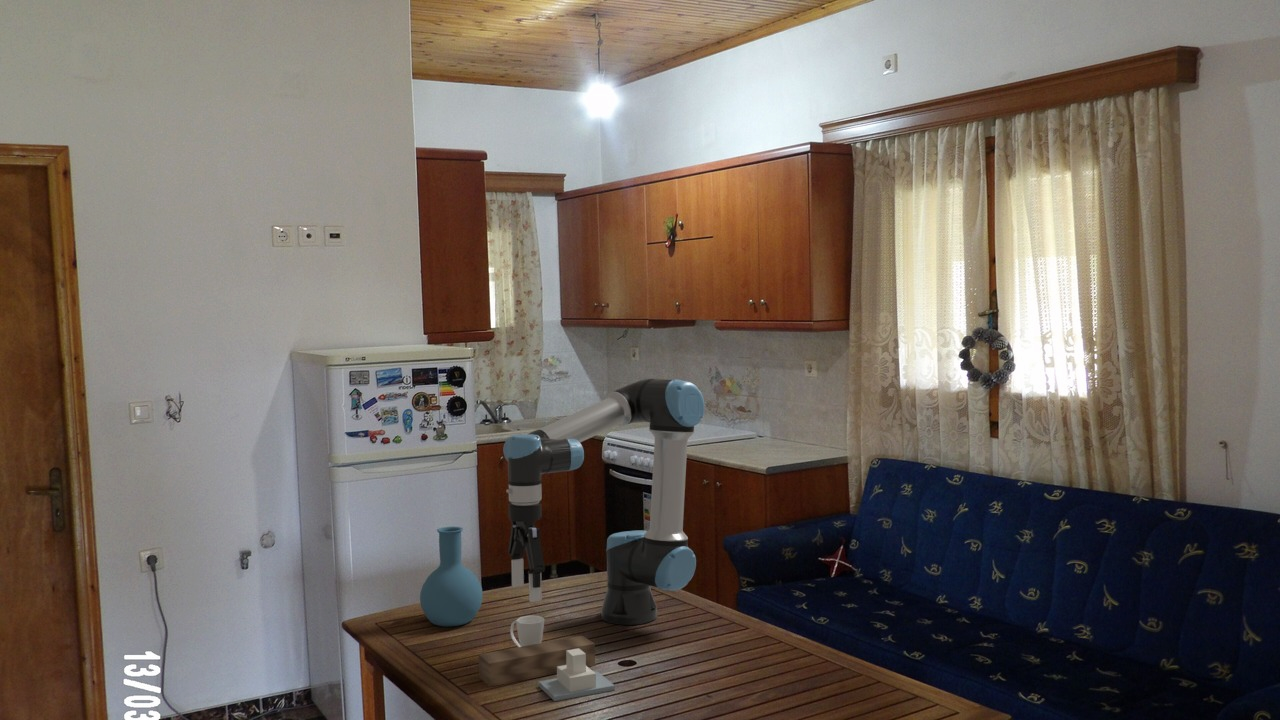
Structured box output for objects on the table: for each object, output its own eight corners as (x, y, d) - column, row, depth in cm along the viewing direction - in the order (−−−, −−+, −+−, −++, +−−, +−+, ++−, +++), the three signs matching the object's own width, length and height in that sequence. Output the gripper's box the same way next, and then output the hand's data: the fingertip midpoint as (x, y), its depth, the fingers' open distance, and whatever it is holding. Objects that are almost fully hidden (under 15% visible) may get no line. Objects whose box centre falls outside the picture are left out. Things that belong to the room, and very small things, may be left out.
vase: (495, 617, 275) (493, 526, 274) (453, 634, 261) (451, 538, 260) (450, 608, 284) (448, 520, 283) (407, 624, 270) (405, 531, 269)
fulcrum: (597, 675, 230) (596, 640, 230) (614, 689, 221) (614, 653, 221) (538, 685, 224) (538, 650, 224) (554, 701, 215) (553, 664, 215)
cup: (531, 658, 242) (530, 625, 241) (501, 651, 248) (500, 618, 247) (551, 650, 247) (550, 618, 247) (521, 643, 253) (520, 611, 253)
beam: (582, 658, 243) (581, 635, 243) (595, 666, 237) (594, 643, 236) (479, 678, 230) (478, 654, 230) (489, 688, 224) (489, 663, 224)
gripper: (494, 495, 243) (495, 582, 244) (525, 513, 220) (527, 609, 221) (524, 492, 246) (525, 579, 247) (558, 510, 223) (559, 605, 224)
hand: (526, 593), depth 234 cm, fingers open, 13 cm apart
